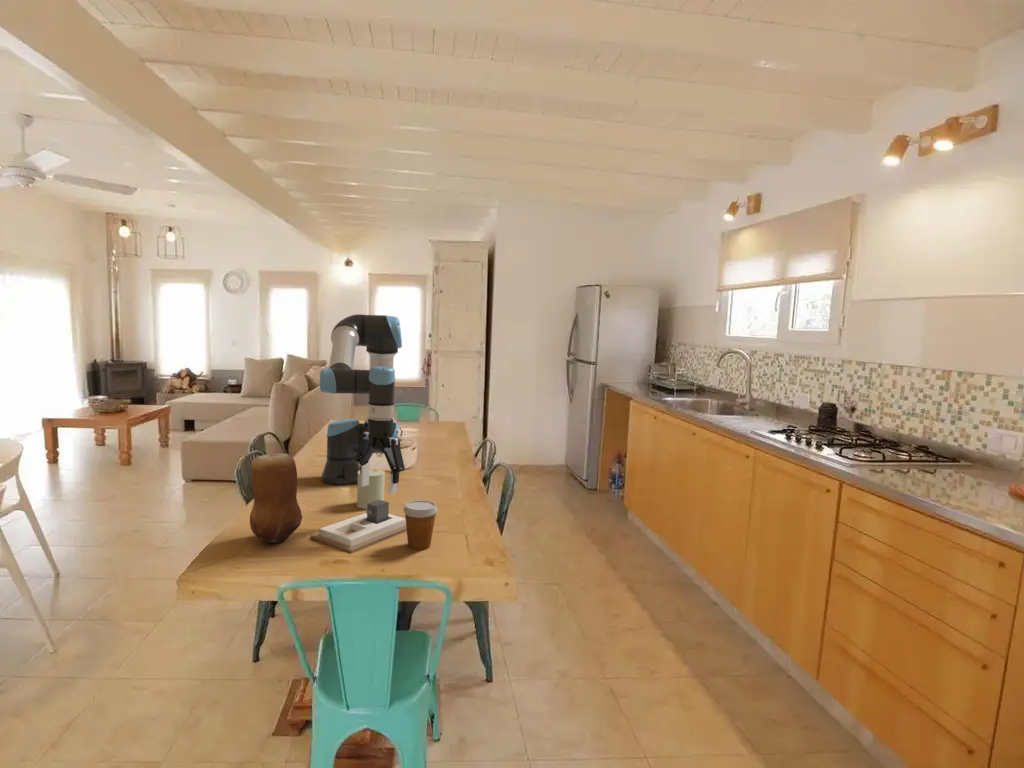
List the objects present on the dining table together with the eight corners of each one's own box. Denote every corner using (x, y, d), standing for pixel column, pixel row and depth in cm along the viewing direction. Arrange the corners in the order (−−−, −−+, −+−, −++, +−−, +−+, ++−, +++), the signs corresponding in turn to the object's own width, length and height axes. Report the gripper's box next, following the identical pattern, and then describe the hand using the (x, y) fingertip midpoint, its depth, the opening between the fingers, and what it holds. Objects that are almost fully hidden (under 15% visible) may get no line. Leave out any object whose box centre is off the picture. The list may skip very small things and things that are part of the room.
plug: (362, 527, 174) (363, 505, 173) (378, 521, 180) (379, 499, 179) (372, 530, 172) (372, 507, 171) (388, 524, 178) (388, 502, 177)
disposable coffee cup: (404, 539, 169) (405, 499, 168) (436, 539, 170) (438, 500, 168) (400, 552, 160) (401, 510, 158) (435, 552, 160) (437, 511, 159)
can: (389, 503, 200) (390, 469, 199) (374, 511, 191) (375, 475, 190) (366, 499, 203) (367, 465, 202) (351, 506, 194) (351, 472, 193)
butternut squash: (263, 530, 170) (263, 447, 167) (308, 533, 169) (309, 449, 167) (239, 549, 156) (239, 458, 153) (288, 552, 156) (289, 461, 153)
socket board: (310, 537, 166) (310, 526, 166) (374, 515, 187) (374, 505, 187) (351, 553, 157) (352, 541, 157) (414, 527, 178) (414, 517, 178)
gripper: (343, 414, 176) (342, 484, 178) (401, 425, 164) (398, 500, 166) (362, 411, 182) (360, 479, 185) (418, 422, 170) (416, 494, 172)
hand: (378, 489), depth 175 cm, fingers open, 11 cm apart
